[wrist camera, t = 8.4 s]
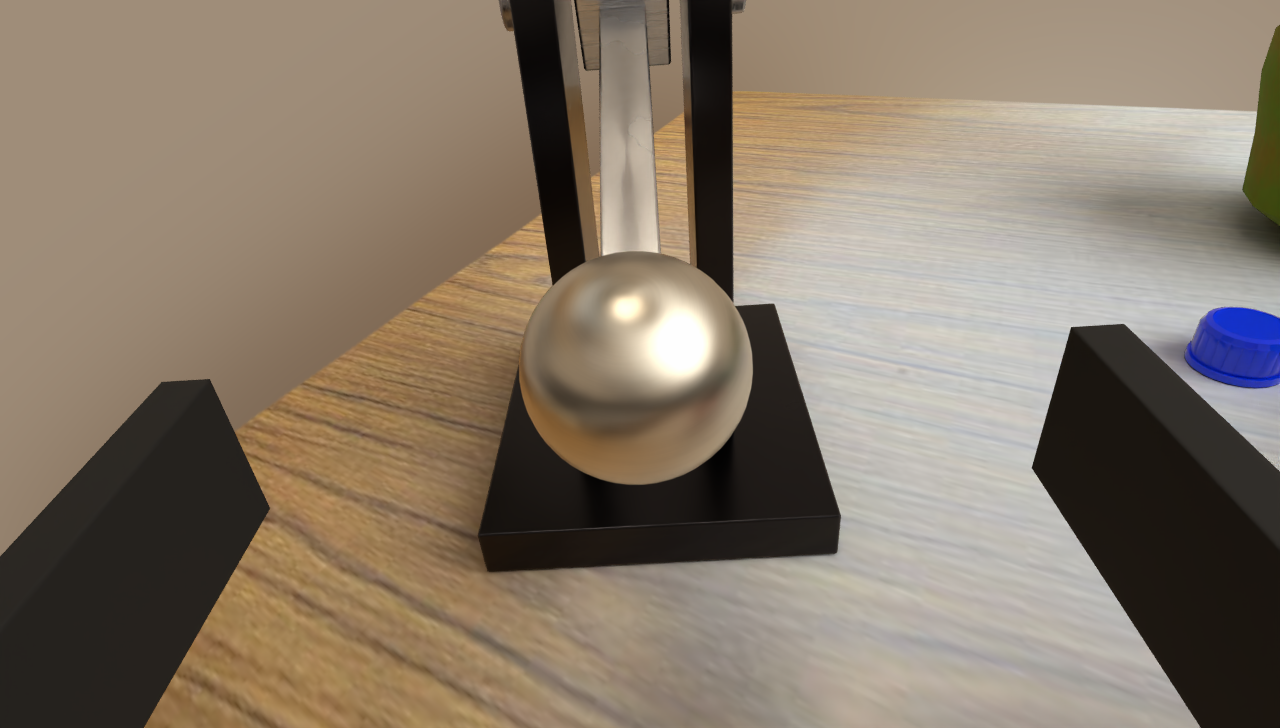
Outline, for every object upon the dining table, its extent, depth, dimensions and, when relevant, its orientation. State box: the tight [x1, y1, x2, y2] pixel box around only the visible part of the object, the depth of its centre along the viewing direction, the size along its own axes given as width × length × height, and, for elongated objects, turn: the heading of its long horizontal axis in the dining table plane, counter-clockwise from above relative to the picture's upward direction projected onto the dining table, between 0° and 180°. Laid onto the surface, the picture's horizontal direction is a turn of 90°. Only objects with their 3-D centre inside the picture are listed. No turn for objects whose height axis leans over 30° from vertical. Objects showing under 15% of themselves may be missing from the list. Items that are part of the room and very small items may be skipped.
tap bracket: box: [478, 0, 841, 571], centre depth 22 cm, size 12×10×16 cm
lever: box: [519, 0, 753, 485], centre depth 16 cm, size 14×4×4 cm, turn 0°
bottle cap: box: [1185, 307, 1280, 388], centre depth 27 cm, size 3×3×2 cm
